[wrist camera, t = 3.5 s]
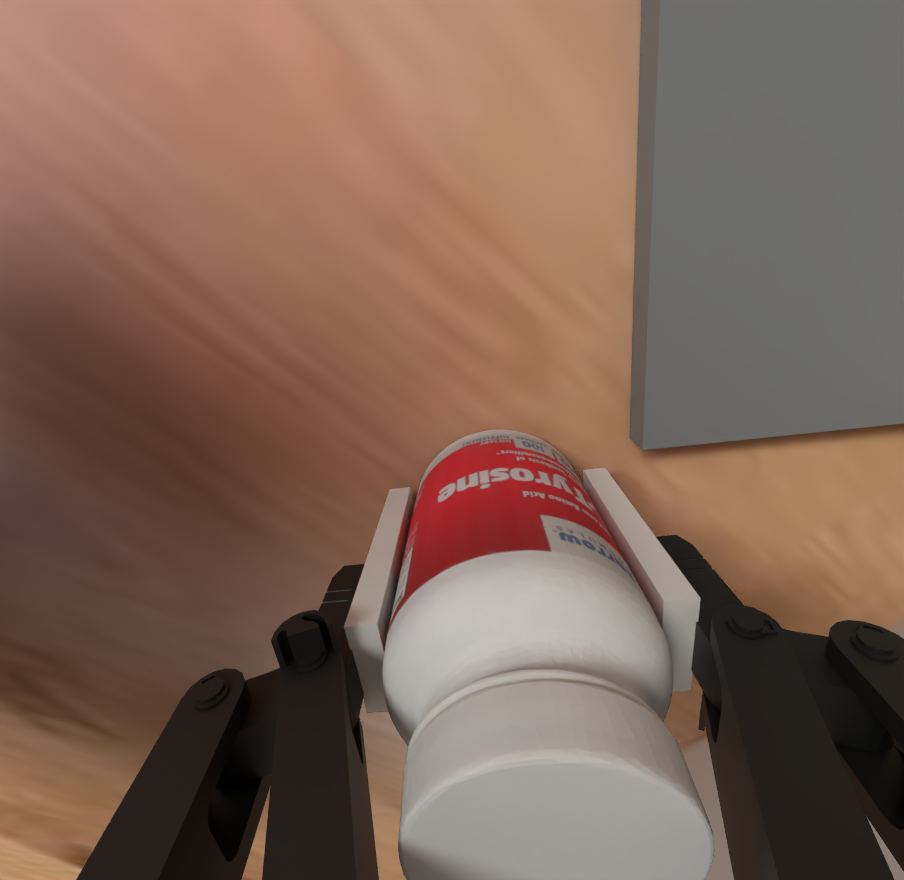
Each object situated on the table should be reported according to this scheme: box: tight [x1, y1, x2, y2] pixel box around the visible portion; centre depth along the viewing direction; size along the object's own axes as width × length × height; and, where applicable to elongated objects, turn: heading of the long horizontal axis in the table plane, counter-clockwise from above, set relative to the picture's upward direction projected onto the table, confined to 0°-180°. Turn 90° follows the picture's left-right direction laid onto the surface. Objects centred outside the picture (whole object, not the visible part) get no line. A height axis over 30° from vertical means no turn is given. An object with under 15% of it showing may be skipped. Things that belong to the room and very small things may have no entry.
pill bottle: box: [382, 429, 714, 880], centre depth 12 cm, size 6×6×11 cm
